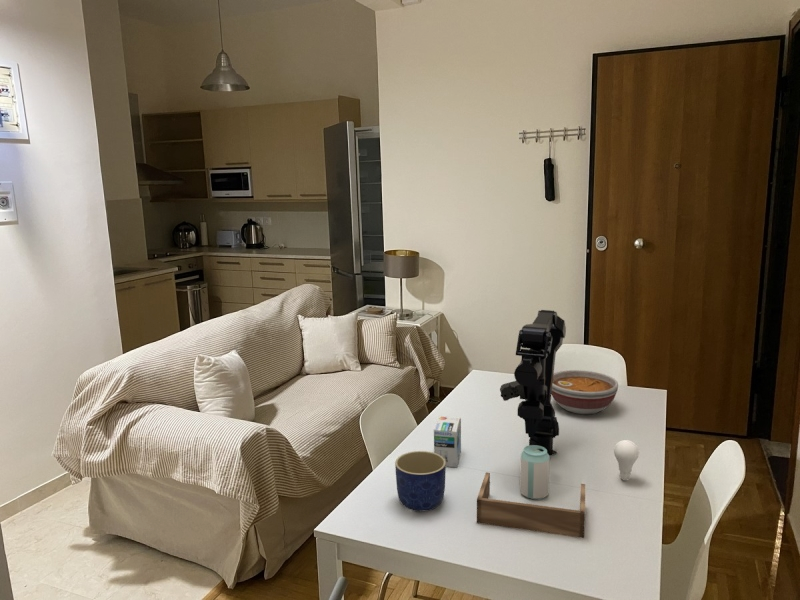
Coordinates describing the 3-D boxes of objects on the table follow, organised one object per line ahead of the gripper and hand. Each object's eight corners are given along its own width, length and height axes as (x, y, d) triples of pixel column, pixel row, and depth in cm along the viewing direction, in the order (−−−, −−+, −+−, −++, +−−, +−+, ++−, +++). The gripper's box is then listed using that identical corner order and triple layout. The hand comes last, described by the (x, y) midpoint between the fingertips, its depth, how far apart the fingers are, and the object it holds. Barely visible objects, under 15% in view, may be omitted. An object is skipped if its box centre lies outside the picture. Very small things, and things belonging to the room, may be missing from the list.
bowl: (537, 413, 207) (538, 385, 205) (558, 392, 226) (559, 366, 224) (607, 426, 195) (609, 396, 193) (623, 403, 214) (625, 375, 212)
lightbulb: (636, 476, 163) (639, 437, 161) (637, 487, 158) (639, 447, 155) (612, 473, 165) (614, 434, 163) (612, 483, 160) (614, 444, 157)
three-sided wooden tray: (485, 494, 156) (485, 472, 155) (584, 506, 149) (585, 484, 148) (476, 522, 143) (476, 499, 142) (583, 538, 136) (584, 513, 135)
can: (525, 484, 160) (526, 441, 158) (552, 490, 157) (553, 447, 154) (516, 496, 154) (516, 452, 152) (543, 503, 151) (544, 458, 148)
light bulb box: (457, 468, 170) (457, 431, 168) (433, 466, 171) (433, 430, 169) (461, 451, 180) (461, 416, 178) (438, 449, 182) (438, 415, 179)
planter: (386, 500, 154) (385, 460, 152) (424, 484, 161) (423, 446, 159) (417, 522, 144) (416, 479, 142) (456, 504, 152) (456, 463, 149)
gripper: (506, 361, 170) (506, 414, 173) (497, 383, 153) (496, 441, 156) (548, 363, 167) (546, 417, 170) (543, 386, 149) (541, 446, 153)
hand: (532, 430), depth 162 cm, fingers open, 9 cm apart
